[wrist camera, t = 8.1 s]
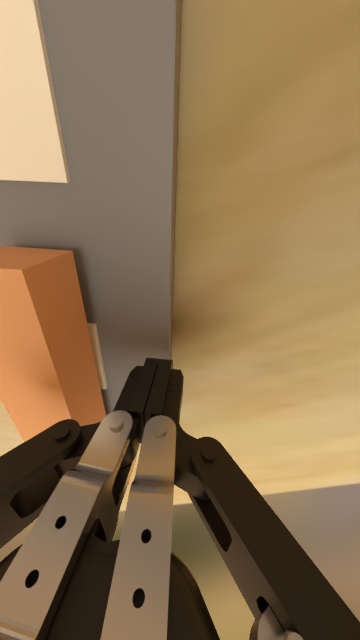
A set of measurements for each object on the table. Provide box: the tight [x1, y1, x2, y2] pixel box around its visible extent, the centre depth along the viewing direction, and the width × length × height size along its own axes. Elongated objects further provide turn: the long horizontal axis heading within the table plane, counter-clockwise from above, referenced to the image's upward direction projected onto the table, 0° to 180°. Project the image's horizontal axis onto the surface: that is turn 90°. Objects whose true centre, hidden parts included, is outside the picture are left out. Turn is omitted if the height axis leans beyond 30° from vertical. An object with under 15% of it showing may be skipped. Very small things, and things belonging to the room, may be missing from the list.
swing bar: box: [0, 246, 106, 442], centre depth 15 cm, size 20×4×4 cm, turn 178°
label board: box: [0, 0, 181, 416], centre depth 15 cm, size 30×14×2 cm, turn 178°
